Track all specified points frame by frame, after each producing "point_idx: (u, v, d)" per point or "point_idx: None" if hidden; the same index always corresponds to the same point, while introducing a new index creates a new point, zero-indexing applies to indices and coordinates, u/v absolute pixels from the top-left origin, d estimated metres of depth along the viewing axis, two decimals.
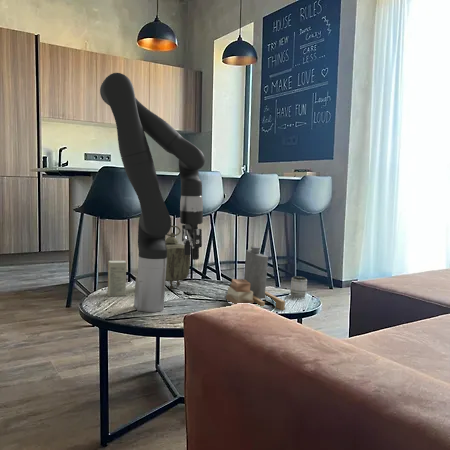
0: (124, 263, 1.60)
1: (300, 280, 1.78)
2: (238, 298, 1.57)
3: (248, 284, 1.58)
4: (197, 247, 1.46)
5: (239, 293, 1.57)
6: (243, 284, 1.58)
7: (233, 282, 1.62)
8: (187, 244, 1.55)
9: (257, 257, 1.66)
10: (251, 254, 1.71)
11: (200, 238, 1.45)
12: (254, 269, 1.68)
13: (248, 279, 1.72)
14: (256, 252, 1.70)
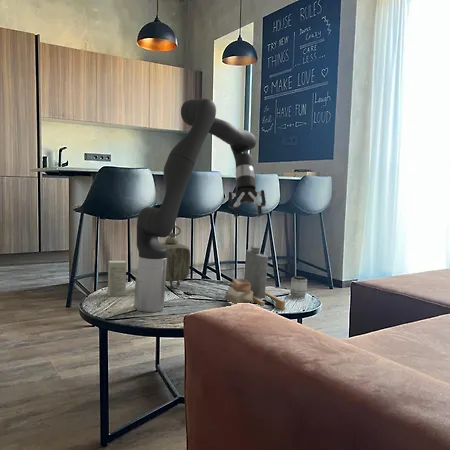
0: (124, 263, 1.60)
1: (300, 280, 1.78)
2: (238, 298, 1.57)
3: (248, 284, 1.58)
4: (263, 205, 1.72)
5: (239, 293, 1.57)
6: (243, 284, 1.58)
7: (234, 282, 1.62)
8: (236, 208, 1.72)
9: (257, 257, 1.66)
10: (251, 254, 1.71)
11: None
12: (254, 269, 1.68)
13: (248, 279, 1.72)
14: (256, 252, 1.70)
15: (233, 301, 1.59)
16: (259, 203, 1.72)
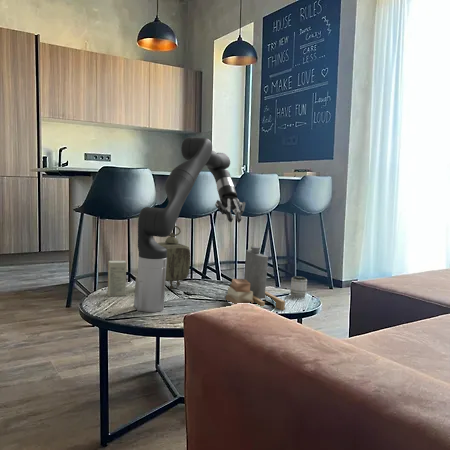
0: (124, 263, 1.60)
1: (300, 280, 1.78)
2: (238, 298, 1.57)
3: (248, 284, 1.59)
4: (241, 213, 1.89)
5: (239, 293, 1.57)
6: (243, 284, 1.58)
7: (233, 282, 1.62)
8: None
9: (257, 257, 1.66)
10: (251, 254, 1.71)
11: None
12: (254, 269, 1.68)
13: (248, 279, 1.72)
14: (256, 252, 1.70)
15: (233, 301, 1.58)
16: (238, 210, 1.88)
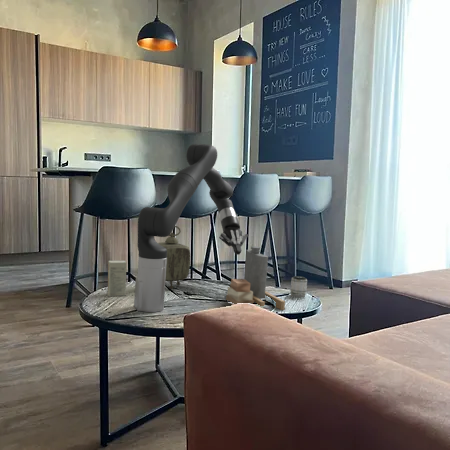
0: (124, 263, 1.60)
1: (300, 280, 1.78)
2: (238, 298, 1.57)
3: (248, 284, 1.58)
4: (241, 245, 1.88)
5: (239, 293, 1.57)
6: (243, 284, 1.58)
7: (233, 282, 1.61)
8: None
9: (257, 257, 1.66)
10: (251, 254, 1.71)
11: None
12: (254, 269, 1.68)
13: (248, 279, 1.72)
14: (256, 252, 1.70)
15: (233, 301, 1.58)
16: (238, 242, 1.87)
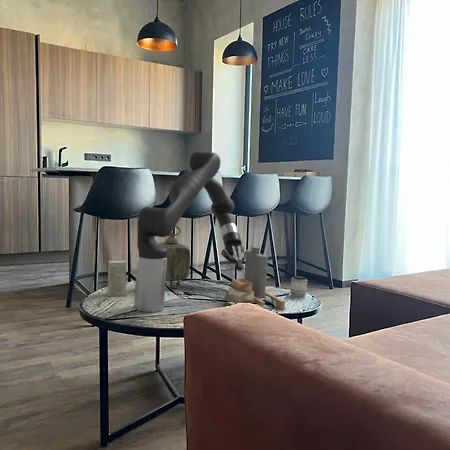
0: (124, 263, 1.60)
1: (300, 280, 1.78)
2: (239, 298, 1.57)
3: (250, 284, 1.58)
4: (242, 261, 1.87)
5: (241, 293, 1.57)
6: (245, 284, 1.58)
7: (234, 282, 1.61)
8: None
9: (257, 257, 1.66)
10: (251, 254, 1.71)
11: None
12: (254, 269, 1.68)
13: (248, 279, 1.72)
14: (256, 252, 1.70)
15: (234, 301, 1.58)
16: (240, 258, 1.86)
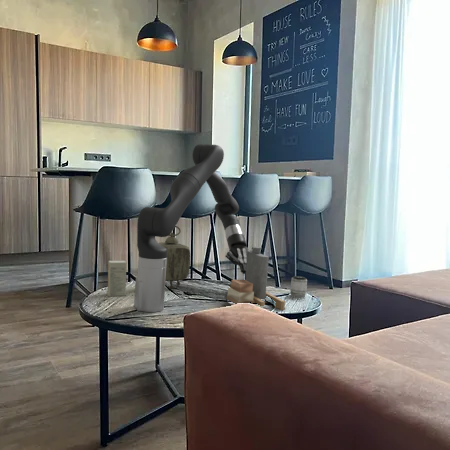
0: (124, 263, 1.60)
1: (300, 280, 1.78)
2: (239, 299, 1.57)
3: (251, 284, 1.59)
4: None
5: (241, 294, 1.57)
6: (246, 285, 1.58)
7: (234, 283, 1.61)
8: None
9: (258, 257, 1.65)
10: (252, 254, 1.70)
11: None
12: (255, 269, 1.67)
13: (249, 279, 1.72)
14: (257, 252, 1.69)
15: (234, 301, 1.59)
16: (245, 261, 1.81)
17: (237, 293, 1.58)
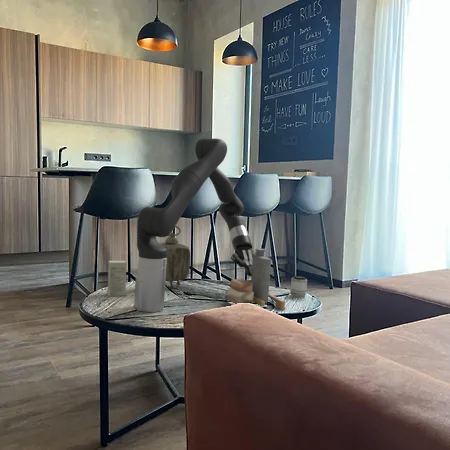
0: (124, 263, 1.60)
1: (300, 280, 1.78)
2: (239, 298, 1.57)
3: (250, 284, 1.59)
4: None
5: (240, 294, 1.57)
6: (246, 284, 1.58)
7: (234, 283, 1.61)
8: None
9: (260, 260, 1.60)
10: (255, 256, 1.65)
11: None
12: (257, 271, 1.62)
13: (253, 282, 1.67)
14: (260, 254, 1.64)
15: (234, 301, 1.59)
16: (251, 263, 1.77)
17: (237, 293, 1.58)
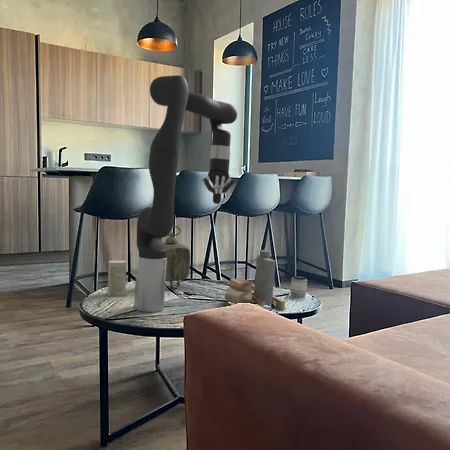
0: (124, 263, 1.60)
1: (300, 280, 1.78)
2: (238, 298, 1.57)
3: (250, 283, 1.59)
4: None
5: (239, 293, 1.57)
6: (245, 284, 1.58)
7: (233, 282, 1.61)
8: None
9: (264, 261, 1.57)
10: (259, 258, 1.62)
11: None
12: (261, 273, 1.59)
13: (257, 284, 1.64)
14: (264, 256, 1.61)
15: (232, 301, 1.59)
16: (220, 191, 1.71)
17: (236, 292, 1.58)
